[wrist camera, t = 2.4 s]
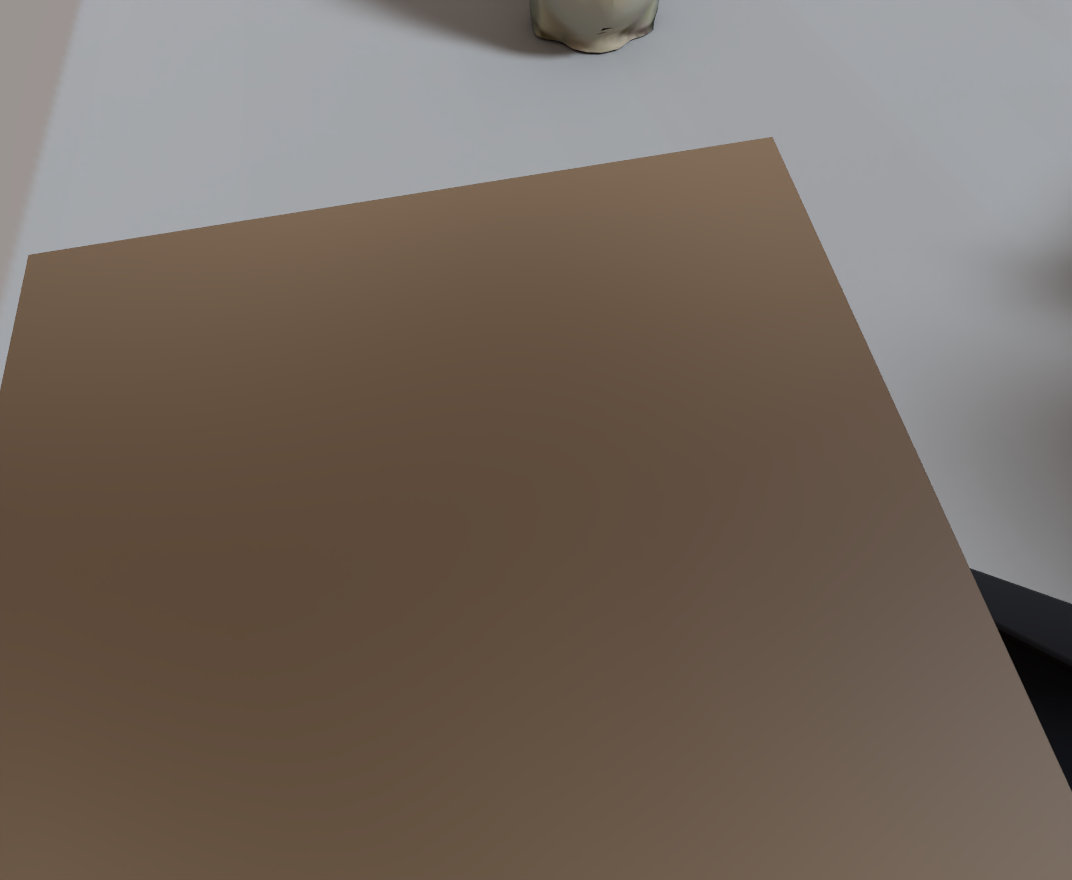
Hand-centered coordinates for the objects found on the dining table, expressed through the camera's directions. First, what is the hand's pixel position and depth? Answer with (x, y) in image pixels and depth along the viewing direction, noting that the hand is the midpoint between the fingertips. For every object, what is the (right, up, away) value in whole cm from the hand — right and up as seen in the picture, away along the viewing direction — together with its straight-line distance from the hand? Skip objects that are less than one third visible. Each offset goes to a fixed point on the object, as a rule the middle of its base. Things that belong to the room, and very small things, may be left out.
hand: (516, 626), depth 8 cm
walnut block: (0, -3, +7) cm, 8 cm away
